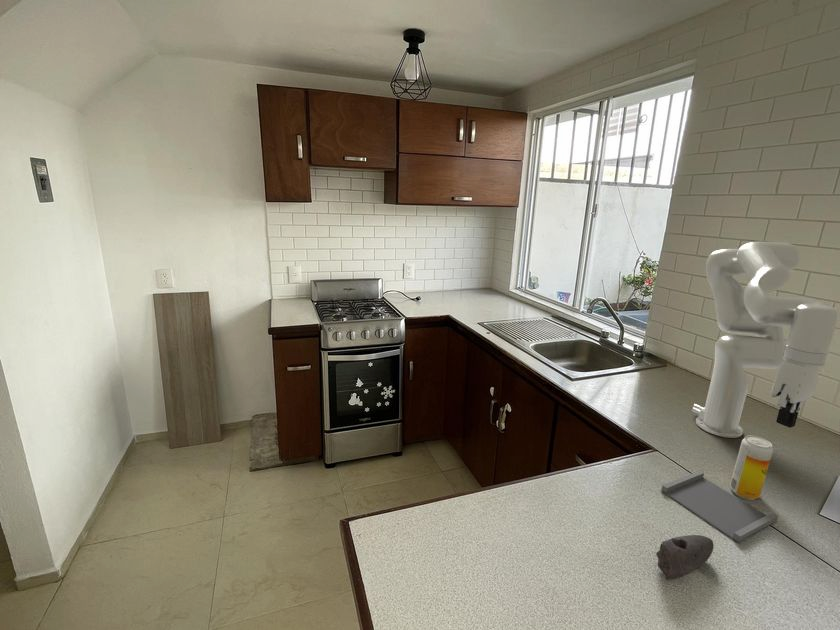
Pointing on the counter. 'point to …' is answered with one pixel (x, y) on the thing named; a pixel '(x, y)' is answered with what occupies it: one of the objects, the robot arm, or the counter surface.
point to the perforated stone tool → (683, 555)
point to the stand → (718, 506)
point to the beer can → (751, 467)
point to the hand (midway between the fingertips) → (785, 424)
